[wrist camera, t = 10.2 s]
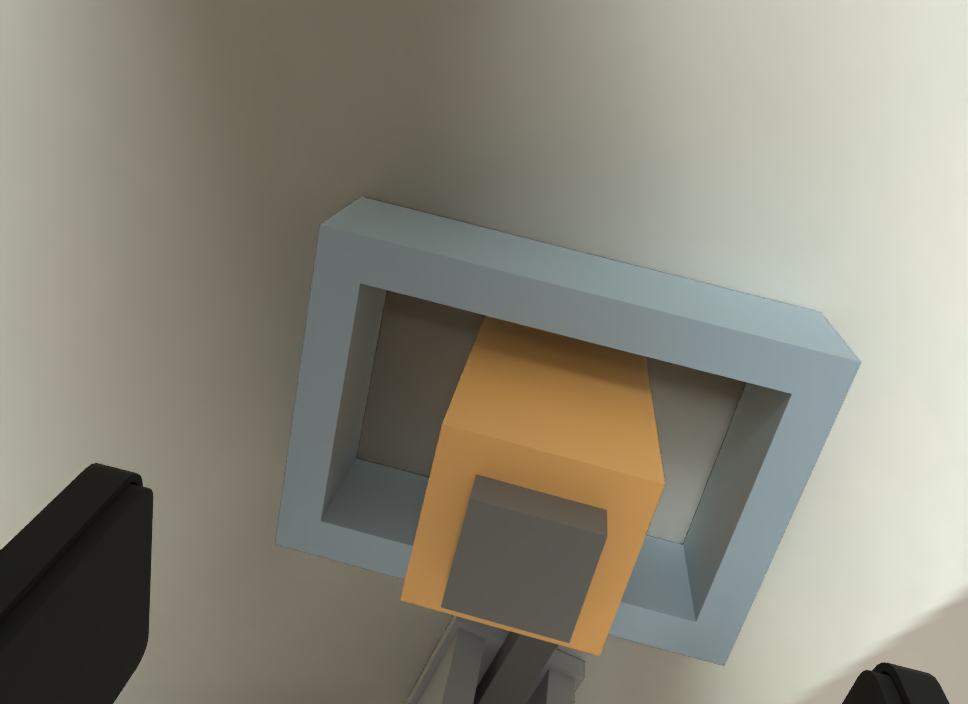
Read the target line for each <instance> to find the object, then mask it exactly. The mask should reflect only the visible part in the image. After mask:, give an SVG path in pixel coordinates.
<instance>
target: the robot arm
mask: <svg viewBox="0 0 968 704" xmlns="http://www.w3.org/2000/svg"><path fill="white" fill-rule="evenodd" d="M152 518H153V492H152V490H151V489H149V488H146V487H143V484H142V478H141V476H140V475H139V474H137V473H134V472H130V471H126V470H122V469H118V468H114V467H110V466H106V465H102V464H98V463H95V464H91V465H90V466H88V467H87V468H86V469H85V470H84V471H83V472H81V473H80V474H79V475H78V476H77V477H76V478H75V479H74V480H73V481H72V482H71V483H70V484H69V485H68V486H67V487H66V488H65V489H64V490H63V491H62V492H61V493H60V494H59V495H58V496H57V497H56V498H54V499H53V500H52V501H51V502H50V503H49V504H48V505H47V506H46V507H45V508H44V509H43V510H42V511H41V512H40V513H39V514H38V515H37V516H36V517H35V518H34V519H33V520H32V521H31V522H30V523H29V524H27V525H26V526H25V527H24V528H23V529H22V530H21V531H20V532H19V533H18V534H17V535H16V536H15V537H14V538H13V539H12V540H11V541H10V542H9V543H8V544H7V545H6V546H5V547H4V548H3V549H2V550H0V704H113V703H114V701H115V700H116V698H117V697H118V695H119V694H120V692H121V691H122V689H123V688H124V686H125V685H126V683H127V682H128V680H129V679H130V677H131V676H132V674H133V673H134V671H135V670H136V668H137V666H138V665H139V663H140V661H141V659H142V657H143V655H144V652H145V649H146V646H147V642H148V635H149V607H150V577H151V548H152ZM842 704H949V702H948V700H947V698H946V696H945V694H944V692H943V690H942V688H941V686H940V684H939V683H938V681H937V680H936V678H935V677H933V676H932V675H931V674H929V673H925V672H922V671H918V670H914V669H910V668H906V667H902V666H897V665H894V664H890V663H880V664H878V665H877V666H876V667H875V668H874V669H873V670H872V671H869V670H865V671H863V672H862V673H861V674H860V675H859V676H858V678H857V680H856V681H855V683H854V685H853V686H852V688H851V690H850V691H849V693H848V695H847V696H846V698H845V700H844V702H843V703H842Z"/></svg>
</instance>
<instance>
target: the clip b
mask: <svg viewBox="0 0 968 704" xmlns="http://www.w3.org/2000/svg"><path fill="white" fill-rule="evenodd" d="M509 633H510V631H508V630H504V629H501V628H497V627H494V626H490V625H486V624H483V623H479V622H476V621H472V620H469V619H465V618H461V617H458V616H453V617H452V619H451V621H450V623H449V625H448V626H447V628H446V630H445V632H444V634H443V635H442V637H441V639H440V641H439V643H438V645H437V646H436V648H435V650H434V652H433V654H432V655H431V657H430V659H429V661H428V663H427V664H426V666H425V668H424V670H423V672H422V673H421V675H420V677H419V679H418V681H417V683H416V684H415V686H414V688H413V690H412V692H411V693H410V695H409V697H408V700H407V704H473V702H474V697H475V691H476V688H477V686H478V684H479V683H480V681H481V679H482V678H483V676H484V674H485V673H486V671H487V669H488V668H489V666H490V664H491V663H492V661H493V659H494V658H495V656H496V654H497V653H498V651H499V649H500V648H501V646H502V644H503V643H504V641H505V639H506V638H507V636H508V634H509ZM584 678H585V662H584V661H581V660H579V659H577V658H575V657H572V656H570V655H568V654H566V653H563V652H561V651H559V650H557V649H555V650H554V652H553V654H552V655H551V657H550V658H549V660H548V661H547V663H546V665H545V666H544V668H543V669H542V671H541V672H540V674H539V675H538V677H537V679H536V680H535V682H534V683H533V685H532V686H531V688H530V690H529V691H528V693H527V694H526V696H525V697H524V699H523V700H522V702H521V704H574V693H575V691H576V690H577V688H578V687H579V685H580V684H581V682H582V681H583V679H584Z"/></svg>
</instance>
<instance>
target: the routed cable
mask: <svg viewBox="0 0 968 704" xmlns="http://www.w3.org/2000/svg"><path fill="white" fill-rule="evenodd" d="M557 646H558V644H554V643H551V642H547V641H544V640H540V639H537V638H533V637H529V636H526V635H522V634H519V633H515V632H511V631H510V633H509V634H508V636H507V638H506V639H505V641H504V643H503V644H502V646H501V648H500V649H499V651H498V653H497V654H496V656H495V658H494V659H493V661H492V663H491V664H490V666H489V668H488V669H487V671H486V673H485V674H484V676H483V678H482V679H481V681H480V683H479V684H478V686H477V688H476V691H475V697H474V702H473V704H521V702H522V700H523V699H524V697H525V696H526V694H527V693H528V691H529V690H530V688H531V686H532V685H533V683H534V682H535V680H536V679H537V677H538V675H539V674H540V672H541V671H542V669H543V668H544V666H545V665H546V663H547V661H548V660H549V658H550V657H551V655H552V654H553V652H554V650H555V649H556V647H557Z"/></svg>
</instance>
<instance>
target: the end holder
mask: <svg viewBox="0 0 968 704" xmlns="http://www.w3.org/2000/svg"><path fill="white" fill-rule="evenodd" d="M387 290H388V291H392V292H396V293H400V294H404V295H408V296H412V297H416V298H420V299H423V300H427V301H431V302H435V303H439V304H443V305H447V306H451V307H455V308H459V309H462V310H466V311H470V312H474V313H478V314H482V315H486V316H490V317H494V318H498V319H501V320H505V321H509V322H513V323H517V324H521V325H525V326H529V327H533V328H537V329H541V330H544V331H548V332H552V333H556V334H560V335H564V336H568V337H572V338H576V339H580V340H583V341H587V342H591V343H595V344H599V345H603V346H607V347H611V348H615V349H619V350H622V351H626V352H630V353H634V354H638V355H642V356H646V357H650V358H654V359H658V360H661V361H665V362H669V363H673V364H677V365H681V366H685V367H689V368H693V369H697V370H700V371H704V372H708V373H712V374H716V375H720V376H724V377H728V378H732V379H736V380H740V381H743V382H747V383H746V385H745V388H744V391H743V393H742V396H741V398H740V401H739V403H738V406H737V408H736V411H735V414H734V416H733V419H732V421H731V424H730V426H729V429H728V431H727V434H726V436H725V439H724V442H723V444H722V447H721V449H720V452H719V454H718V457H717V459H716V462H715V465H714V467H713V470H712V472H711V475H710V477H709V480H708V482H707V485H706V487H705V490H704V493H703V495H702V498H701V500H700V503H699V505H698V508H697V510H696V513H695V516H694V518H693V521H692V523H691V526H690V528H689V531H688V533H687V536H686V538H685V541H684V544H683V545H682V544H678V543H674V542H670V541H667V540H663V539H659V538H655V537H652V536H648V535H646V536H645V539H644V541H643V544H642V547H641V549H640V552H639V554H638V557H637V560H636V562H635V565H634V568H633V570H632V573H631V575H630V578H629V581H628V583H627V586H626V589H625V591H624V594H623V596H622V599H621V602H620V604H619V607H618V610H617V612H616V615H615V617H614V620H613V623H612V625H611V628H610V631H609V633H608V635H612V636H615V637H619V638H623V639H626V640H630V641H634V642H638V643H641V644H645V645H649V646H652V647H656V648H660V649H663V650H667V651H671V652H674V653H678V654H682V655H686V656H689V657H693V658H697V659H700V660H704V661H708V662H711V663H715V664H719V665H723V666H724V665H725V663H726V661H727V659H728V656H729V654H730V652H731V650H732V647H733V645H734V643H735V641H736V639H737V636H738V634H739V632H740V630H741V627H742V625H743V623H744V621H745V619H746V616H747V614H748V612H749V610H750V608H751V605H752V603H753V601H754V599H755V596H756V594H757V592H758V590H759V588H760V585H761V583H762V581H763V579H764V576H765V574H766V572H767V570H768V568H769V565H770V563H771V561H772V559H773V557H774V554H775V552H776V550H777V548H778V545H779V543H780V541H781V539H782V537H783V534H784V532H785V530H786V528H787V525H788V523H789V521H790V519H791V517H792V514H793V512H794V510H795V508H796V506H797V503H798V501H799V499H800V497H801V494H802V492H803V490H804V488H805V486H806V483H807V481H808V479H809V477H810V475H811V472H812V470H813V468H814V466H815V463H816V461H817V459H818V457H819V455H820V452H821V450H822V448H823V446H824V443H825V441H826V439H827V437H828V435H829V432H830V430H831V428H832V426H833V424H834V421H835V419H836V417H837V415H838V412H839V410H840V408H841V406H842V404H843V401H844V399H845V397H846V395H847V392H848V390H849V388H850V386H851V384H852V381H853V379H854V377H855V375H856V373H857V370H858V368H859V366H860V364H861V361H860V360H859V359H858V357H857V356H856V355H855V354H854V352H853V351H852V350H851V349H850V347H849V346H848V345H847V344H846V343H845V341H844V340H843V339H842V338H841V336H840V335H839V334H838V333H837V331H836V330H835V329H834V328H833V326H832V325H831V324H830V323H829V322H828V320H827V319H826V318H825V317H824V315H823V314H822V313H821V312H818V311H814V310H810V309H806V308H802V307H798V306H794V305H790V304H786V303H782V302H778V301H774V300H770V299H766V298H762V297H758V296H754V295H750V294H746V293H742V292H738V291H734V290H730V289H726V288H722V287H718V286H714V285H710V284H706V283H702V282H698V281H694V280H691V279H687V278H683V277H679V276H675V275H671V274H667V273H663V272H659V271H655V270H651V269H647V268H643V267H639V266H635V265H631V264H627V263H623V262H619V261H615V260H611V259H607V258H603V257H599V256H595V255H591V254H587V253H583V252H579V251H575V250H571V249H567V248H563V247H560V246H556V245H552V244H548V243H544V242H540V241H536V240H532V239H528V238H524V237H520V236H516V235H512V234H508V233H504V232H500V231H496V230H492V229H488V228H484V227H480V226H476V225H472V224H468V223H464V222H460V221H456V220H452V219H448V218H444V217H440V216H436V215H433V214H429V213H425V212H421V211H417V210H413V209H409V208H405V207H401V206H397V205H393V204H389V203H385V202H381V201H377V200H373V199H369V198H365V197H359V198H358V199H357V200H355V201H354V202H352V203H351V204H349V205H348V206H346V207H345V208H343V209H342V210H340V211H339V212H337V213H336V214H335V215H333V216H332V217H330V218H329V219H327V220H326V221H324V222H323V223H321V224H320V227H319V234H318V241H317V248H316V255H315V262H314V270H313V277H312V284H311V291H310V298H309V305H308V312H307V319H306V326H305V333H304V341H303V348H302V355H301V362H300V369H299V376H298V383H297V390H296V397H295V404H294V412H293V419H292V426H291V433H290V440H289V447H288V454H287V461H286V468H285V476H284V483H283V490H282V497H281V504H280V511H279V518H278V525H277V532H276V539H275V545H279V546H283V547H286V548H290V549H294V550H297V551H301V552H305V553H309V554H312V555H316V556H320V557H323V558H327V559H331V560H334V561H338V562H342V563H346V564H349V565H353V566H357V567H360V568H364V569H368V570H371V571H375V572H379V573H382V574H386V575H390V576H394V577H397V578H401V579H405V577H406V573H407V569H408V565H409V561H410V556H411V552H412V548H413V544H414V540H415V535H416V531H417V527H418V523H419V519H420V514H421V510H422V506H423V502H424V498H425V494H426V489H427V485H428V481H429V477H425V476H422V475H418V474H414V473H410V472H406V471H403V470H399V469H395V468H391V467H388V466H384V465H380V464H376V463H372V462H369V461H365V460H361V459H357V458H356V457H357V452H358V446H359V441H360V435H361V430H362V424H363V419H364V413H365V408H366V402H367V397H368V391H369V386H370V380H371V375H372V369H373V364H374V358H375V353H376V347H377V342H378V336H379V331H380V325H381V320H382V314H383V308H384V303H385V297H386V292H387Z"/></svg>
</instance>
